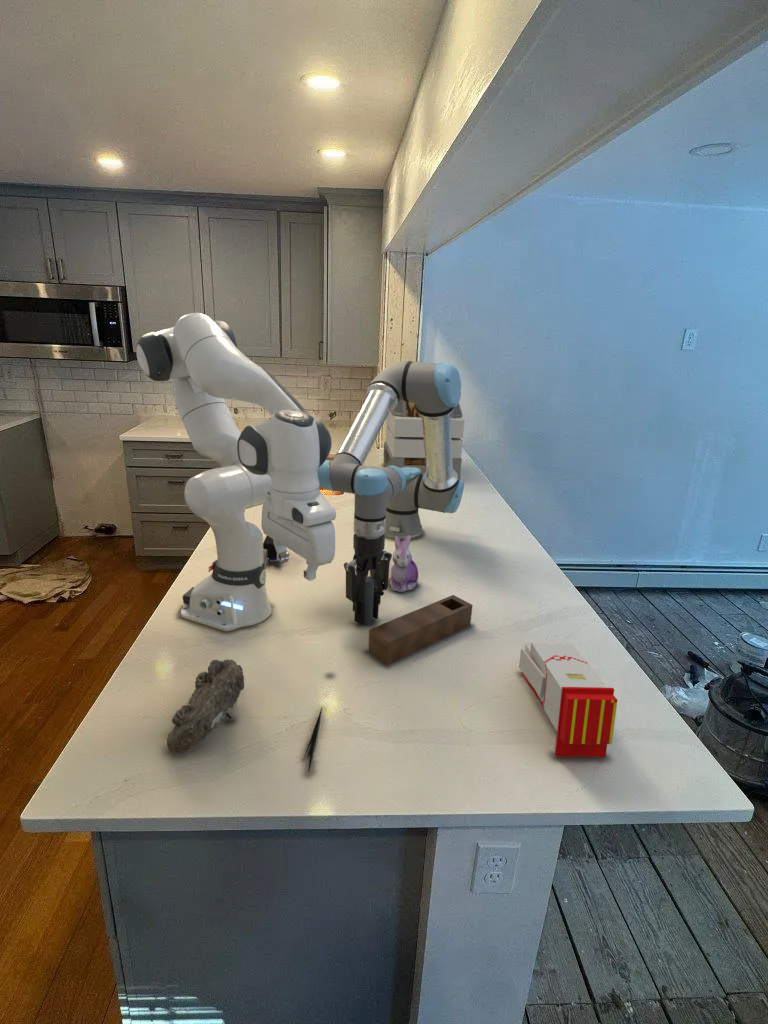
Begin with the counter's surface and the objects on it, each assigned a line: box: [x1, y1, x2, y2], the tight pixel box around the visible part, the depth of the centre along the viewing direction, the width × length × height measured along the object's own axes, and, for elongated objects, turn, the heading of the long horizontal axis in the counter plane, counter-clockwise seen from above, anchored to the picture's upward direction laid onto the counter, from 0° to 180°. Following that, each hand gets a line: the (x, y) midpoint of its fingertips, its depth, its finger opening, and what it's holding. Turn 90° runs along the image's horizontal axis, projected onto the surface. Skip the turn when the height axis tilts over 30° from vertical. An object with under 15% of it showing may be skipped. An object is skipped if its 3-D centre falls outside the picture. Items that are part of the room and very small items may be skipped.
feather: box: [301, 673, 332, 771], centre depth 108 cm, size 2×28×2 cm
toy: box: [518, 642, 618, 758], centre depth 113 cm, size 12×13×30 cm
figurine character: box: [263, 535, 280, 566], centre depth 175 cm, size 7×8×15 cm
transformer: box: [383, 402, 465, 480], centre depth 268 cm, size 34×33×41 cm
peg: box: [362, 575, 374, 626], centre depth 141 cm, size 3×3×12 cm
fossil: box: [166, 658, 245, 754], centre depth 106 cm, size 22×10×15 cm
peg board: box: [368, 594, 474, 666], centre depth 136 cm, size 28×7×6 cm, turn 131°
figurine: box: [389, 535, 419, 593], centre depth 160 cm, size 9×10×15 cm
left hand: (296, 569), depth 108 cm, fingers open, 8 cm apart
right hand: (366, 619), depth 143 cm, fingers open, 4 cm apart
